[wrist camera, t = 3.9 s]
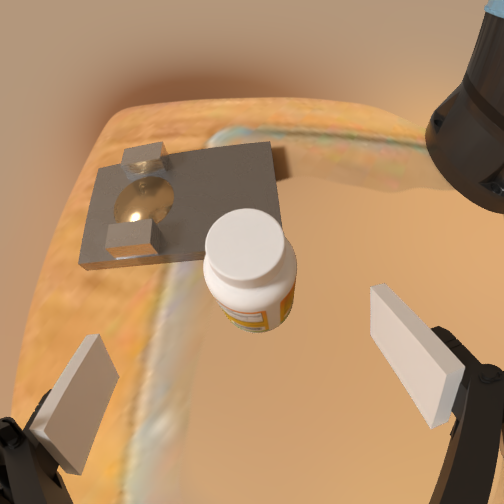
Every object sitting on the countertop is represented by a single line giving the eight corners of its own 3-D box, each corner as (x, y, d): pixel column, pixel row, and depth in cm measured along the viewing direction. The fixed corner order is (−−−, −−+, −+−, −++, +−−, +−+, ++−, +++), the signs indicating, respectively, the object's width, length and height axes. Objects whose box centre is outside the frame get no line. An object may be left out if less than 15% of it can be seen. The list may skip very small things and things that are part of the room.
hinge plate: (270, 151, 31) (269, 126, 28) (284, 251, 26) (284, 230, 23) (104, 176, 31) (90, 156, 28) (86, 270, 27) (66, 254, 24)
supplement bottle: (271, 255, 26) (266, 180, 17) (306, 312, 24) (321, 259, 15) (211, 286, 25) (175, 224, 16) (242, 346, 23) (218, 314, 14)
